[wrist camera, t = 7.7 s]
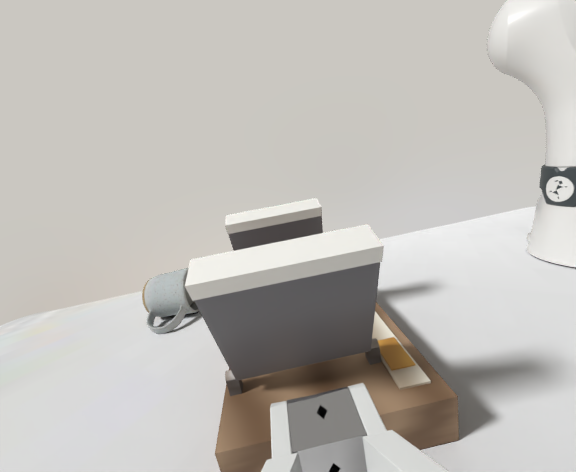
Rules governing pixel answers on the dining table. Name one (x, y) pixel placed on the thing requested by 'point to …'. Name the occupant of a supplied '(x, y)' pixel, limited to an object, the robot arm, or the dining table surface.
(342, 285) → the grey board
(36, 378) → the dining table surface
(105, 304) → the dining table surface
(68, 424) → the dining table surface
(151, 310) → the ceramic mug
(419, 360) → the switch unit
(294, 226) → the lever slate
